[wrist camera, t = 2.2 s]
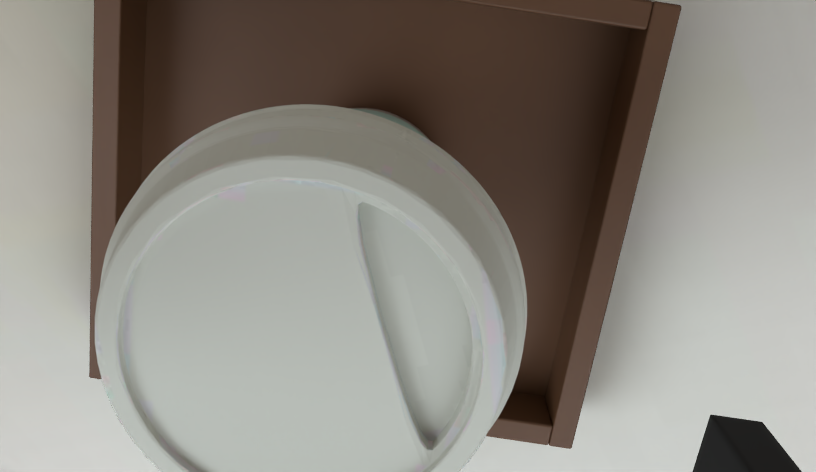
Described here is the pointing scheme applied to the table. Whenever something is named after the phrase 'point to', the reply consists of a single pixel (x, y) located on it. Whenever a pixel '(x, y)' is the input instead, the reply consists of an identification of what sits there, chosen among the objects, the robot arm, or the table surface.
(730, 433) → the robot arm
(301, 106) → the coffee cup
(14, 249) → the table surface
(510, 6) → the tray
